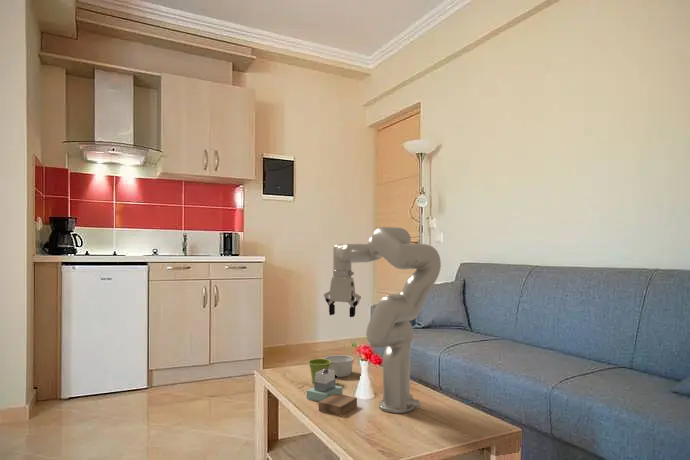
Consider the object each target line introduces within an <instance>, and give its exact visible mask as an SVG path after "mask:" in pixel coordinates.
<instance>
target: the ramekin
mask: <svg viewBox="0 0 690 460" xmlns="http://www.w3.org/2000/svg"><path fill="white" fill-rule="evenodd" d="M323 359H327V360H330V361H331V363H330V366H329V369H330V370H335V375H336V376H337V377H336V378H344V377H345V378H346V377H348V376H351V374H352V372H353V363H354V357H352V356H350V355H345V354H344V355H343V354H334V355H332V354H331V355H327V356H325V357H324V358H323Z"/></svg>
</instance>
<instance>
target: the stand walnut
mask: <svg viewBox="0 0 690 460" xmlns="http://www.w3.org/2000/svg"><path fill="white" fill-rule="evenodd" d="M357 406H358V397H355V396H351V395H344V394H342V395H341V394H336V393H335V394H333V395H332V396H330V397H328V398H326V399H324V400H322V401H318V411H319V412H323V413H326V414H327V413H328V414H330V415H335V416H339V417H341V416H343V415H345V414H347V413H348V412H349V411H351V410H353V409H355V408H357Z"/></svg>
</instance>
